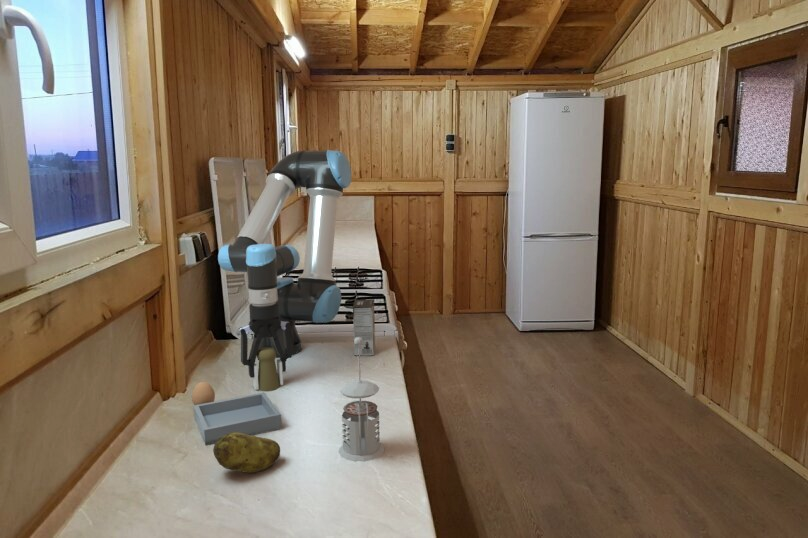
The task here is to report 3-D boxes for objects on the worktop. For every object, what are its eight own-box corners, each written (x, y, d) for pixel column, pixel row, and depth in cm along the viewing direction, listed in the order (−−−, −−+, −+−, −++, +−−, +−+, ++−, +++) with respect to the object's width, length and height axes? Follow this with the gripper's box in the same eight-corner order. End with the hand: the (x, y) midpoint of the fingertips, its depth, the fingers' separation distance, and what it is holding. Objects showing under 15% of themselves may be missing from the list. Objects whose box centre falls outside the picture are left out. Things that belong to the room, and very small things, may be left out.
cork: (282, 383, 170) (280, 344, 168) (275, 391, 164) (273, 351, 162) (261, 382, 170) (259, 344, 168) (253, 390, 164) (251, 351, 162)
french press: (381, 437, 137) (379, 329, 132) (389, 463, 125) (386, 345, 121) (336, 441, 135) (333, 332, 130) (340, 467, 124) (336, 348, 119)
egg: (209, 402, 157) (207, 376, 156) (219, 408, 153) (217, 382, 152) (189, 409, 153) (186, 382, 152) (199, 415, 149) (197, 388, 148)
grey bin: (265, 405, 155) (264, 392, 154) (281, 428, 142) (280, 414, 141) (194, 419, 147) (193, 405, 147) (205, 445, 134) (204, 430, 133)
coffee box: (355, 347, 200) (354, 299, 197) (375, 346, 200) (374, 299, 197) (353, 356, 191) (352, 306, 188) (374, 356, 191) (373, 306, 188)
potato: (282, 475, 121) (280, 437, 120) (214, 484, 118) (211, 445, 117) (280, 455, 129) (278, 419, 128) (216, 463, 126) (213, 427, 125)
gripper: (230, 310, 155) (235, 396, 159) (302, 301, 164) (306, 383, 168) (224, 304, 162) (229, 387, 166) (294, 295, 170) (298, 375, 174)
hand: (268, 385), depth 167 cm, fingers closed on cork, 6 cm apart
